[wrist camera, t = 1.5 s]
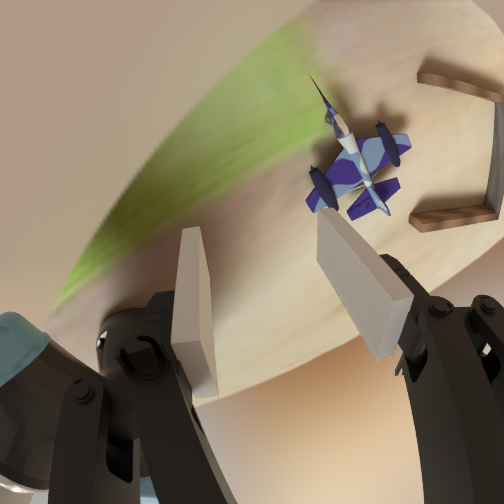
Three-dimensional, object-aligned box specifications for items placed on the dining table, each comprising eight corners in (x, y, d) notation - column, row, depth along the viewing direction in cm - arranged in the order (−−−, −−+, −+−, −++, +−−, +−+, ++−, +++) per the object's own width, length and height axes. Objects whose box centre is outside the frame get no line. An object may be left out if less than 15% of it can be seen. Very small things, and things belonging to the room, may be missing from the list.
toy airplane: (299, 73, 24) (311, 71, 21) (407, 119, 27) (427, 124, 24) (265, 194, 30) (272, 207, 27) (372, 218, 34) (387, 231, 30)
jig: (408, 222, 34) (421, 233, 32) (417, 73, 24) (433, 73, 22) (486, 211, 36) (498, 219, 33) (499, 96, 26) (513, 99, 23)
